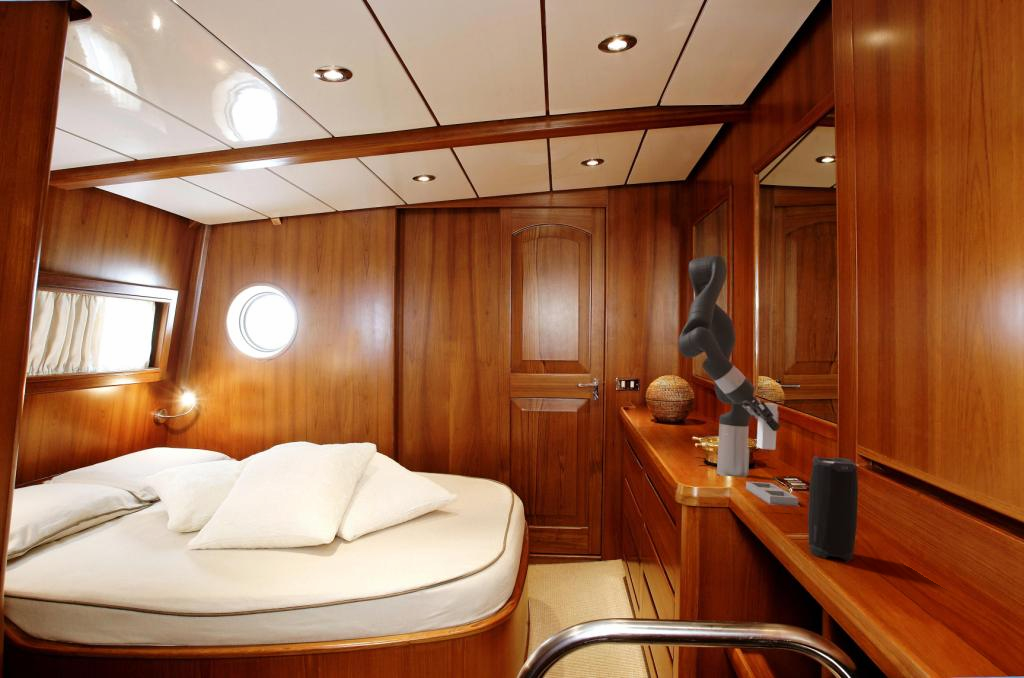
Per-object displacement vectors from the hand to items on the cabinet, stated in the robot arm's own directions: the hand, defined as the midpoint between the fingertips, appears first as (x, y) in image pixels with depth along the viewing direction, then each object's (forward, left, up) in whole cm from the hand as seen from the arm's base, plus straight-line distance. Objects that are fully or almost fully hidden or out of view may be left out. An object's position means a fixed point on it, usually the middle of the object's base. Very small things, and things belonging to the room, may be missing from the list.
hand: (773, 427), depth 160 cm
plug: (+2, -1, -6) cm, 6 cm away
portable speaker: (+31, +37, -20) cm, 52 cm away
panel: (+4, +3, -20) cm, 20 cm away
